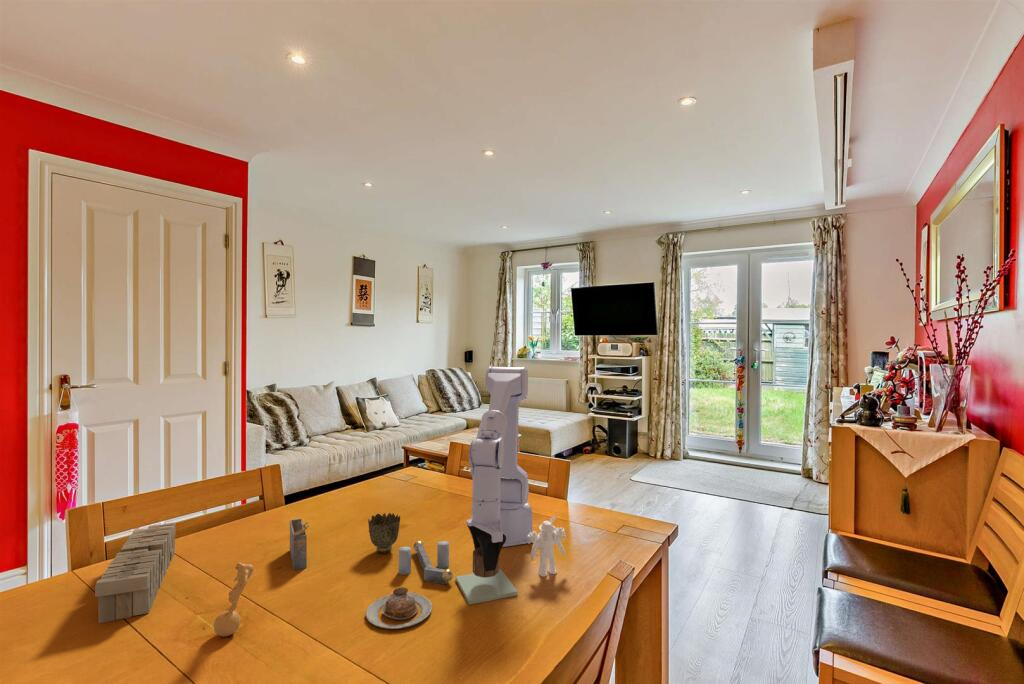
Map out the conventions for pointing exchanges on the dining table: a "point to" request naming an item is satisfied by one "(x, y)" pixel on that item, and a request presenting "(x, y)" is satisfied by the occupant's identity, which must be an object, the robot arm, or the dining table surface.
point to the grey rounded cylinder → (404, 560)
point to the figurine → (233, 603)
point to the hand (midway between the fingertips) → (485, 563)
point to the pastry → (399, 608)
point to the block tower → (136, 573)
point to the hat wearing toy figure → (546, 545)
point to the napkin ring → (482, 565)
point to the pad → (485, 587)
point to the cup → (384, 531)
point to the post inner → (443, 554)
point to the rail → (431, 567)
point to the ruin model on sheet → (298, 544)
